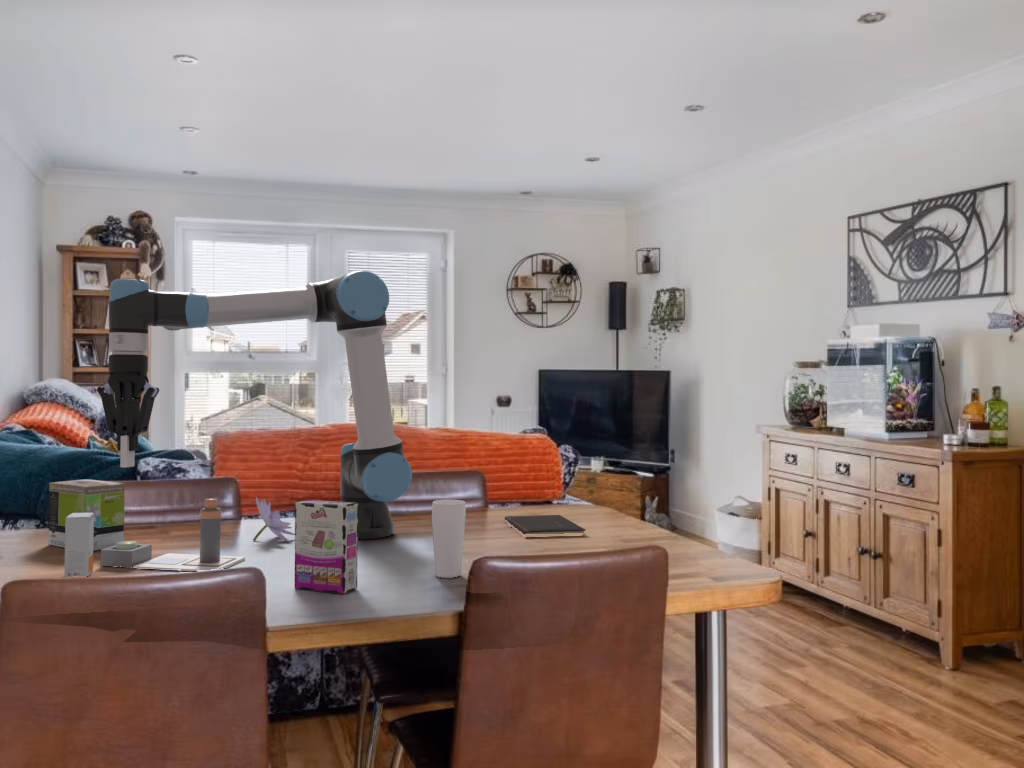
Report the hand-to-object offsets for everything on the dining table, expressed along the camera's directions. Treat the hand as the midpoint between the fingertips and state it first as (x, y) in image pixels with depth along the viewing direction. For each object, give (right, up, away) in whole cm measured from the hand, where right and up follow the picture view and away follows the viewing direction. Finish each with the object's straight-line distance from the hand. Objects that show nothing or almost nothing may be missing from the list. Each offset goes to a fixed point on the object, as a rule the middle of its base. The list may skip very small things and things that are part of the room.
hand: (127, 466), depth 180 cm
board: (+13, -21, +1) cm, 24 cm away
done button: (0, -18, 0) cm, 18 cm away
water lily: (+23, -21, +28) cm, 42 cm away
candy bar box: (+45, -22, -18) cm, 53 cm away
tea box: (-18, -20, +18) cm, 33 cm away
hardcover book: (+89, -22, +48) cm, 103 cm away
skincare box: (-5, -21, -10) cm, 24 cm away
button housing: (0, -20, 0) cm, 20 cm away
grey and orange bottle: (+17, -20, +1) cm, 26 cm away
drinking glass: (+67, -22, -6) cm, 71 cm away
